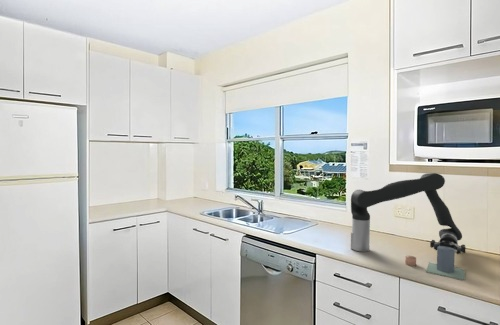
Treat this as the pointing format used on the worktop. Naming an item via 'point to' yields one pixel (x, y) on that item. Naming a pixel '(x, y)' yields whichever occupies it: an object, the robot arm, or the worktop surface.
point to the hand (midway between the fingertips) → (446, 250)
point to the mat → (457, 272)
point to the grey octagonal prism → (445, 259)
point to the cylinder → (410, 260)
